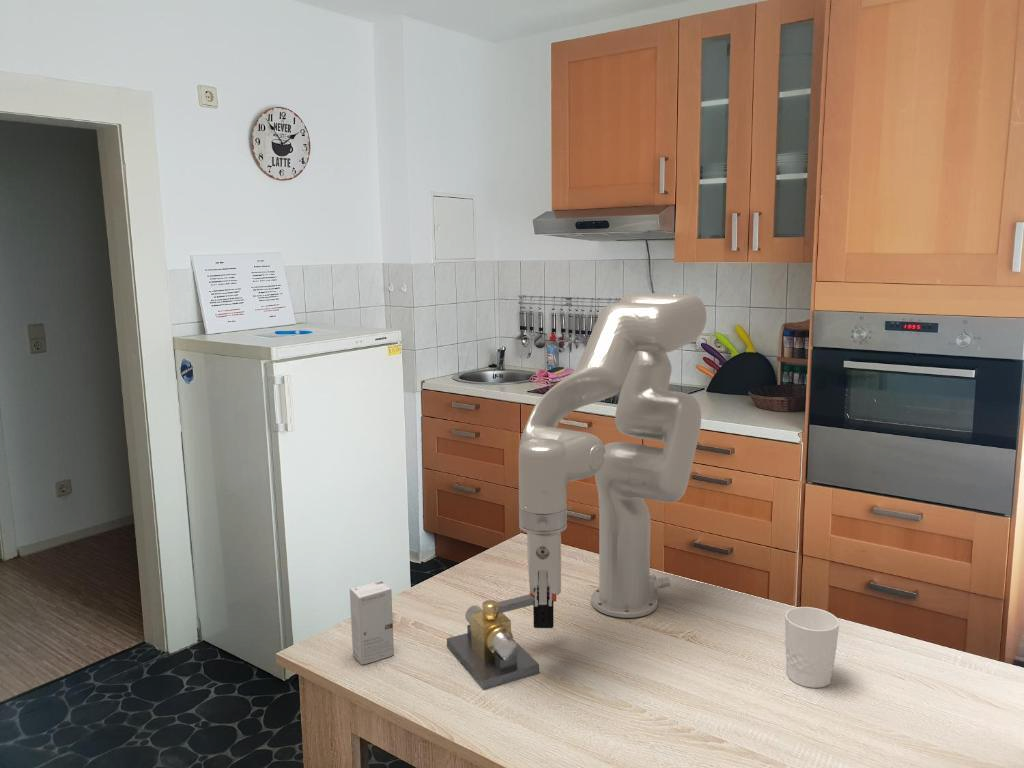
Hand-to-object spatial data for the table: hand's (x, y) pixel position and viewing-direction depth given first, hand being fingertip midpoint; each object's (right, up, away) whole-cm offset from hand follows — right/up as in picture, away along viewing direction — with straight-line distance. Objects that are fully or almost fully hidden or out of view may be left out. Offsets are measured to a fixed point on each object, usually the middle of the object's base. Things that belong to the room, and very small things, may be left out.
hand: (543, 625), depth 127 cm
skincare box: (-29, -7, +7) cm, 30 cm away
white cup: (+42, -8, -2) cm, 43 cm away
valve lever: (-4, +1, +6) cm, 7 cm away
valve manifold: (-9, -7, +5) cm, 12 cm away
